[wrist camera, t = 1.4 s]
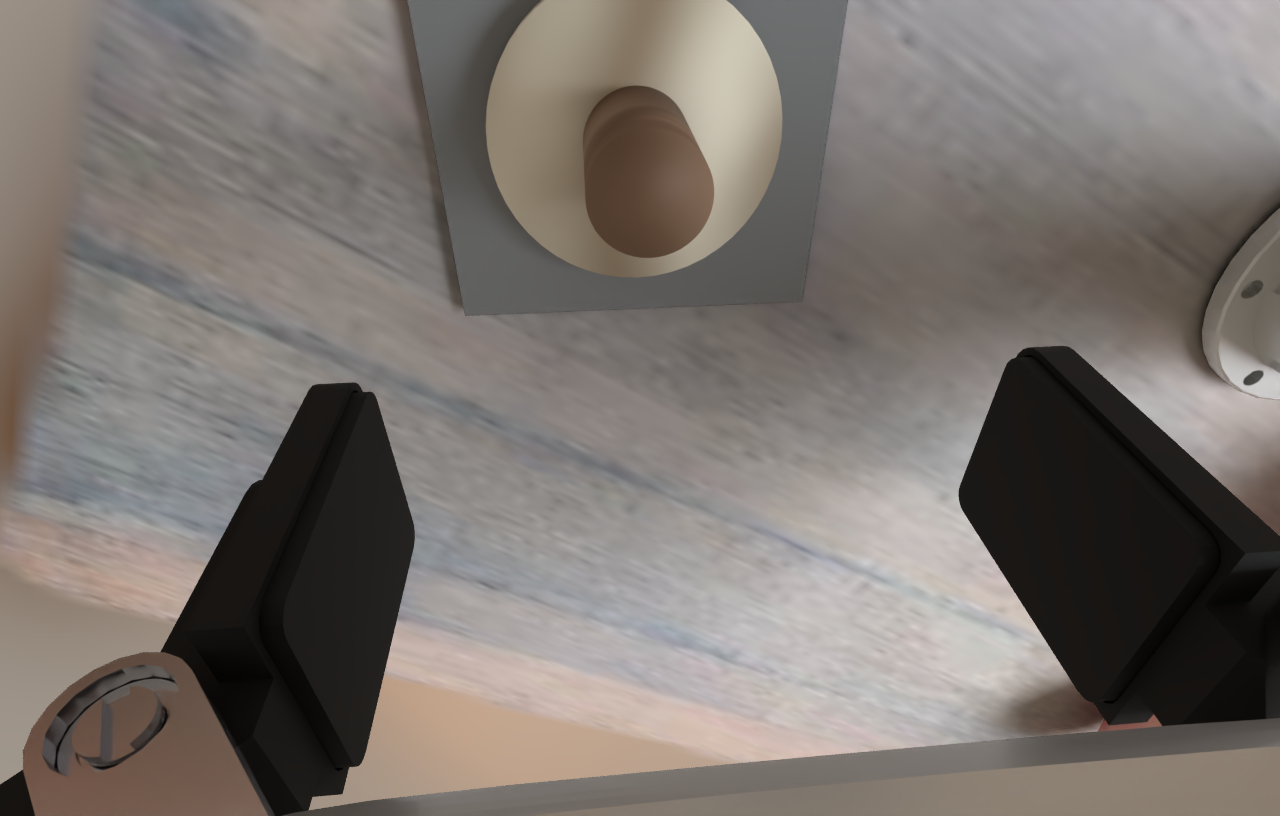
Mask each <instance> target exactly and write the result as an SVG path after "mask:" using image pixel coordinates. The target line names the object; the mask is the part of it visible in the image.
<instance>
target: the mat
mask: <svg viewBox="0 0 1280 816" xmlns="http://www.w3.org/2000/svg"><path fill="white" fill-rule="evenodd" d="M540 1H541V0H407V2H408V7H409V13H410V18H411V24H412V29H413V35H414V40H415V46H416V51H417V57H418V62H419V67H420V73H421V78H422V84H423V89H424V95H425V100H426V106H427V111H428V117H429V122H430V128H431V133H432V139H433V144H434V149H435V155H436V160H437V166H438V171H439V177H440V182H441V188H442V193H443V199H444V204H445V210H446V215H447V221H448V226H449V231H450V237H451V242H452V248H453V253H454V259H455V264H456V270H457V275H458V281H459V286H460V292H461V297H462V303H463V308H464V313H465V316H474V315H498V314H521V313H545V312H569V311H593V310H616V309H640V308H664V307H688V306H711V305H735V304H759V303H783V302H802V297H803V290H804V284H805V277H806V271H807V264H808V258H809V251H810V245H811V238H812V232H813V225H814V218H815V212H816V205H817V199H818V192H819V186H820V179H821V173H822V166H823V160H824V153H825V147H826V140H827V134H828V127H829V120H830V114H831V107H832V101H833V94H834V88H835V81H836V75H837V68H838V62H839V55H840V49H841V42H842V36H843V29H844V23H845V16H846V9H847V3H848V0H727V1H728V2H729V3H730V4H732V5H733V6H734V7H735V8H736V9H737V10H738V11H739V12H740V13H741V14H742V16H743V17H744V18H745V19H746V20H747V21H748V22H749V23H750V25H751V26H752V28H753V29H754V31H755V32H756V33H757V35H758V36H759V38H760V39H761V41H762V43H763V45H764V47H765V49H766V51H767V53H768V55H769V57H770V59H771V62H772V65H773V68H774V71H775V74H776V77H777V81H778V86H779V90H780V95H781V104H782V117H783V120H782V139H781V144H780V150H779V156H778V160H777V163H776V167H775V170H774V173H773V176H772V179H771V181H770V183H769V186H768V188H767V190H766V192H765V194H764V196H763V198H762V200H761V201H760V203H759V205H758V206H757V208H756V210H755V211H754V212H753V214H752V215H751V216H750V218H749V219H748V220H747V222H746V223H745V224H744V225H743V226H742V228H741V229H740V230H739V231H738V232H737V233H736V234H735V235H734V236H733V237H732V238H731V239H730V240H728V241H727V242H726V243H725V244H724V245H722V246H721V247H720V248H719V249H717V250H716V251H714V252H713V253H711V254H710V255H708V256H707V257H705V258H703V259H701V260H699V261H697V262H695V263H693V264H691V265H689V266H687V267H684V268H681V269H679V270H676V271H673V272H669V273H665V274H660V275H656V276H648V277H638V278H635V277H615V276H608V275H602V274H598V273H595V272H591V271H587V270H585V269H582V268H580V267H577V266H575V265H572V264H570V263H568V262H566V261H564V260H563V259H561V258H559V257H557V256H555V255H554V254H553V253H551V252H550V251H549V250H547V249H546V248H544V247H543V246H542V245H540V244H539V243H538V242H537V241H536V240H535V239H534V238H533V237H532V236H531V235H530V234H529V233H528V232H527V231H526V230H525V229H524V228H523V226H522V225H521V224H520V223H519V222H518V221H517V219H516V218H515V216H514V215H513V213H512V212H511V210H510V209H509V207H508V206H507V204H506V202H505V200H504V198H503V196H502V194H501V192H500V190H499V188H498V186H497V183H496V180H495V177H494V174H493V171H492V168H491V164H490V159H489V154H488V149H487V138H486V112H487V103H488V97H489V92H490V86H491V83H492V80H493V77H494V74H495V71H496V68H497V65H498V62H499V60H500V58H501V56H502V54H503V51H504V49H505V47H506V45H507V43H508V41H509V39H510V37H511V36H512V34H513V33H514V31H515V30H516V28H517V27H518V25H519V24H520V22H521V21H522V20H523V19H524V17H525V16H526V15H527V14H528V13H529V12H530V11H531V10H532V8H533V7H534V6H535V5H536V4H537V3H539V2H540Z"/></svg>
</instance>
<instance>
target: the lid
mask: <svg viewBox="0 0 1280 816" xmlns="http://www.w3.org/2000/svg"><path fill="white" fill-rule="evenodd" d="M782 120H783V117H782V104H781V95H780V90H779V86H778V81H777V77H776V74H775V71H774V68H773V65H772V62H771V59H770V57H769V55H768V53H767V51H766V49H765V47H764V45H763V43H762V41H761V39H760V38H759V36H758V35H757V33H756V32H755V31H754V29H753V28H752V26H751V25H750V23H749V22H748V21H747V20H746V19H745V18H744V17H743V16H742V14H741V13H740V12H739V11H738V10H737V9H736V8H735V7H734V6H733V5H732V4H730V3H729V2H728V1H727V0H541V1H540V2H539V3H537V4H536V5H535V6H534V7H533V8H532V10H531V11H530V12H529V13H528V14H527V15H526V16H525V17H524V19H523V20H522V21H521V22H520V24H519V25H518V27H517V28H516V30H515V31H514V33H513V34H512V36H511V37H510V39H509V41H508V43H507V45H506V47H505V49H504V51H503V54H502V56H501V58H500V60H499V62H498V65H497V68H496V71H495V74H494V77H493V80H492V83H491V86H490V92H489V97H488V103H487V112H486V138H487V149H488V154H489V159H490V164H491V168H492V171H493V174H494V177H495V180H496V183H497V186H498V188H499V190H500V192H501V194H502V196H503V198H504V200H505V202H506V204H507V206H508V207H509V209H510V210H511V212H512V213H513V215H514V216H515V218H516V219H517V221H518V222H519V223H520V224H521V225H522V226H523V228H524V229H525V230H526V231H527V232H528V233H529V234H530V235H531V236H532V237H533V238H534V239H535V240H536V241H537V242H538V243H539V244H540V245H542V246H543V247H544V248H546V249H547V250H549V251H550V252H551V253H553V254H554V255H555V256H557V257H559V258H561V259H563V260H564V261H566V262H568V263H570V264H572V265H575V266H577V267H580V268H582V269H585V270H587V271H591V272H595V273H598V274H602V275H608V276H615V277H635V278H638V277H648V276H656V275H660V274H665V273H669V272H673V271H676V270H679V269H681V268H684V267H687V266H689V265H691V264H693V263H695V262H697V261H699V260H701V259H703V258H705V257H707V256H708V255H710V254H711V253H713V252H714V251H716V250H717V249H719V248H720V247H721V246H722V245H724V244H725V243H726V242H727V241H728V240H730V239H731V238H732V237H733V236H734V235H735V234H736V233H737V232H738V231H739V230H740V229H741V228H742V226H743V225H744V224H745V223H746V222H747V220H748V219H749V218H750V216H751V215H752V214H753V212H754V211H755V210H756V208H757V206H758V205H759V203H760V201H761V200H762V198H763V196H764V194H765V192H766V190H767V188H768V186H769V183H770V181H771V179H772V176H773V173H774V170H775V167H776V163H777V160H778V156H779V150H780V144H781V139H782Z"/></svg>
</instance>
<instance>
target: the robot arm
mask: <svg viewBox="0 0 1280 816" xmlns="http://www.w3.org/2000/svg"><path fill="white" fill-rule="evenodd" d="M1202 341H1203V351H1204V354H1205V356H1206V358H1207V361H1208V363H1209V366H1210V367H1211V368H1212V369H1213V370H1214V371H1215V372H1216V373H1217V374H1218V375H1219V377H1221V378H1222V379H1223V380H1225V381H1226V382H1227V383H1229V384H1230V385H1231V386H1233V387H1234V388H1235V389H1237V390H1239V391H1240V392H1243V393H1246V394H1248V395H1251V396H1254V397H1256V398H1264V399H1272V400H1280V208H1279V209H1277V210H1276V211H1275V212H1274V213H1273V214H1272V215H1271V216H1270V217H1269V218H1268V219H1267V220H1266V221H1265V222H1264V223H1263V224H1262V225H1261V226H1260V227H1259V228H1258V229H1257V230H1256V231H1255V232H1254V233H1253V234H1252V235H1251V236H1250V238H1249V239H1248V240H1247V241H1246V243H1245V244H1244V245H1243V246H1242V248H1241V249H1240V250H1239V251H1238V253H1237V254H1236V255H1235V256H1234V258H1233V259H1232V260H1231V262H1230V263H1229V265H1228V267H1227V268H1226V270H1225V272H1224V273H1223V275H1222V277H1221V278H1220V280H1219V282H1218V283H1217V285H1216V287H1215V289H1214V292H1213V294H1212V297H1211V299H1210V302H1209V304H1208V307H1207V309H1206V312H1205V318H1204V323H1203V328H1202ZM959 502H960V505H961V508H962V510H963V512H964V513H965V515H966V517H967V518H968V520H969V521H970V523H971V524H972V526H973V528H974V529H975V531H976V532H977V534H978V535H979V537H980V539H981V540H982V542H983V543H984V545H985V546H986V548H987V549H988V551H989V553H990V554H991V556H992V557H993V559H994V560H995V562H996V564H997V565H998V567H999V568H1000V570H1001V571H1002V573H1003V575H1004V576H1005V578H1006V579H1007V581H1008V582H1009V584H1010V586H1011V587H1012V589H1013V590H1014V592H1015V593H1016V595H1017V596H1018V598H1019V600H1020V601H1021V603H1022V604H1023V606H1024V607H1025V609H1026V611H1027V612H1028V614H1029V615H1030V617H1031V618H1032V620H1033V622H1034V623H1035V625H1036V626H1037V628H1038V629H1039V631H1040V632H1041V634H1042V636H1043V637H1044V639H1045V640H1046V642H1047V643H1048V645H1049V647H1050V648H1051V650H1052V651H1053V653H1054V654H1055V656H1056V658H1057V659H1058V661H1059V662H1060V664H1061V665H1062V667H1063V669H1064V670H1065V672H1066V673H1067V675H1068V676H1069V678H1070V679H1071V681H1072V683H1073V684H1074V686H1075V687H1076V689H1077V690H1078V692H1079V693H1080V694H1081V695H1082V696H1083V697H1084V698H1085V699H1086V700H1088V701H1090V702H1094V704H1095V705H1096V707H1097V708H1098V710H1099V711H1100V713H1101V714H1102V716H1103V717H1104V719H1105V720H1106V722H1107V724H1108V725H1121V724H1132V723H1143V722H1148V720H1149V719H1150V718H1151V717H1152V716H1153V715H1155V717H1156V718H1157V719H1158V721H1159V722H1160V724H1161V725H1162V726H1159V727H1147V728H1136V729H1124V730H1112V731H1100V732H1088V733H1077V734H1065V735H1053V736H1041V737H1029V738H1018V739H1006V740H994V741H982V742H971V743H959V744H948V745H937V746H926V747H915V748H903V749H892V750H881V751H870V752H859V753H847V754H836V755H825V756H814V757H803V758H792V759H781V760H770V761H759V762H748V763H737V764H726V765H716V766H705V767H695V768H685V769H674V770H663V771H653V772H642V773H631V774H621V775H610V776H600V777H589V778H580V779H569V780H558V781H548V782H538V783H526V784H516V785H506V786H497V787H489V788H480V789H471V790H462V791H453V792H444V793H435V794H426V795H418V796H408V797H399V798H391V799H382V800H373V801H366V802H359V803H353V804H347V805H341V806H334V807H328V808H322V809H315V810H309V807H310V803H311V800H312V797H316V796H326V795H338V794H342V793H343V790H344V785H345V782H346V778H347V774H348V769H349V767H355V766H359V765H360V764H361V763H362V760H363V758H364V755H365V752H366V749H367V744H368V739H369V736H370V731H371V727H372V723H373V719H374V714H375V710H376V706H377V702H378V697H379V693H380V689H381V684H382V680H383V676H384V672H385V668H386V663H387V659H388V655H389V650H390V646H391V642H392V638H393V633H394V629H395V625H396V621H397V616H398V612H399V608H400V604H401V599H402V595H403V591H404V587H405V582H406V578H407V574H408V569H409V565H410V561H411V557H412V552H413V548H414V540H415V532H414V524H413V520H412V517H411V513H410V510H409V507H408V503H407V500H406V496H405V493H404V490H403V486H402V483H401V480H400V476H399V473H398V469H397V466H396V463H395V459H394V456H393V453H392V449H391V446H390V442H389V439H388V436H387V432H386V429H385V426H384V422H383V419H382V415H381V412H380V409H379V405H378V402H377V399H376V397H375V395H374V394H373V393H372V392H363V391H362V389H361V387H360V386H359V385H358V384H357V383H336V384H316V385H313V386H312V387H311V388H310V390H309V391H308V393H307V395H306V397H305V399H304V401H303V403H302V405H301V407H300V409H299V410H298V412H297V414H296V416H295V418H294V420H293V422H292V424H291V426H290V428H289V430H288V432H287V434H286V436H285V437H284V439H283V441H282V443H281V445H280V447H279V449H278V451H277V453H276V455H275V457H274V459H273V461H272V463H271V464H270V466H269V468H268V470H267V472H266V474H265V476H264V478H263V480H259V481H257V482H255V483H253V484H252V485H251V486H250V488H249V489H248V490H247V492H246V493H245V495H244V497H243V499H242V501H241V503H240V505H239V506H238V508H237V510H236V512H235V514H234V516H233V518H232V519H231V521H230V523H229V525H228V527H227V529H226V531H225V533H224V534H223V536H222V538H221V540H220V542H219V544H218V546H217V547H216V549H215V551H214V553H213V555H212V557H211V559H210V561H209V562H208V564H207V566H206V568H205V570H204V572H203V574H202V576H201V577H200V579H199V581H198V583H197V585H196V587H195V589H194V590H193V592H192V594H191V596H190V598H189V600H188V602H187V604H186V605H185V607H184V609H183V611H182V613H181V615H180V617H179V618H178V620H177V622H176V624H175V626H174V628H173V630H172V632H171V633H170V635H169V637H168V639H167V641H166V643H165V645H164V647H163V649H162V650H161V652H143V653H139V654H135V655H130V656H126V657H122V658H119V659H117V660H114V661H112V662H110V663H108V664H105V665H104V666H101V667H99V668H97V669H95V670H93V671H91V672H90V673H88V674H87V675H85V676H84V677H82V678H81V679H79V680H78V681H76V682H75V683H73V684H72V685H70V686H69V687H68V688H67V689H66V690H65V691H64V692H63V693H62V694H60V695H59V696H58V697H57V698H56V699H55V700H54V701H53V702H52V703H51V704H50V705H49V706H48V707H47V708H46V710H45V711H44V712H43V714H42V715H41V717H40V718H39V719H38V721H37V722H36V723H35V725H34V726H33V728H32V730H31V732H30V735H29V737H28V740H27V742H26V745H25V747H24V750H23V770H22V771H20V772H19V773H17V774H16V775H14V776H13V777H11V778H10V779H8V780H7V781H5V782H3V783H2V784H0V816H1280V536H1279V535H1277V534H1276V533H1275V532H1274V531H1273V530H1272V529H1271V528H1270V527H1269V526H1268V525H1266V524H1265V523H1264V522H1263V521H1262V520H1261V519H1260V518H1259V517H1258V516H1256V515H1255V514H1254V513H1253V512H1252V511H1251V510H1250V509H1249V508H1248V507H1247V506H1245V505H1244V504H1243V503H1242V502H1241V501H1240V500H1239V499H1238V498H1237V497H1235V496H1234V495H1233V494H1232V493H1231V492H1230V491H1229V490H1228V489H1227V488H1226V487H1224V486H1223V485H1222V484H1221V483H1220V482H1219V481H1218V480H1217V479H1216V478H1214V477H1213V476H1212V475H1211V474H1210V473H1209V472H1208V471H1207V470H1206V469H1205V468H1203V467H1202V466H1201V465H1200V464H1199V463H1198V462H1197V461H1196V460H1195V459H1194V458H1192V457H1191V456H1190V455H1189V454H1188V453H1187V452H1186V451H1185V450H1184V449H1182V448H1181V447H1180V446H1179V445H1178V444H1177V443H1176V442H1175V441H1174V440H1173V439H1171V438H1170V437H1169V436H1168V435H1167V434H1166V433H1165V432H1164V431H1163V430H1161V429H1160V428H1159V427H1158V426H1157V425H1156V424H1155V423H1154V422H1153V421H1152V420H1150V419H1149V418H1148V417H1147V416H1146V415H1145V414H1144V413H1143V412H1142V411H1140V410H1139V409H1138V408H1137V407H1136V406H1135V405H1134V404H1133V403H1132V402H1131V401H1129V400H1128V399H1127V398H1126V397H1125V396H1124V395H1123V394H1122V393H1121V392H1119V391H1118V390H1117V389H1116V388H1115V387H1114V386H1113V385H1112V384H1111V383H1110V382H1108V381H1107V380H1106V379H1105V378H1104V377H1103V376H1102V375H1101V374H1100V373H1098V372H1097V371H1096V370H1095V369H1094V368H1093V367H1092V366H1091V365H1090V364H1089V363H1087V362H1086V361H1085V360H1084V359H1083V358H1082V357H1081V356H1080V355H1079V354H1078V353H1076V352H1075V351H1074V350H1073V349H1071V348H1069V347H1067V346H1051V347H1031V348H1026V349H1023V350H1022V351H1021V352H1020V353H1019V354H1018V355H1017V357H1016V358H1014V359H1011V360H1010V361H1009V362H1008V363H1007V365H1006V367H1005V369H1004V372H1003V375H1002V377H1001V380H1000V382H999V385H998V388H997V390H996V393H995V396H994V398H993V401H992V403H991V406H990V409H989V411H988V414H987V416H986V419H985V422H984V424H983V427H982V430H981V432H980V435H979V437H978V440H977V443H976V445H975V448H974V451H973V453H972V456H971V458H970V461H969V464H968V466H967V469H966V471H965V474H964V477H963V479H962V482H961V485H960V488H959ZM308 810H309V811H308Z"/></svg>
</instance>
